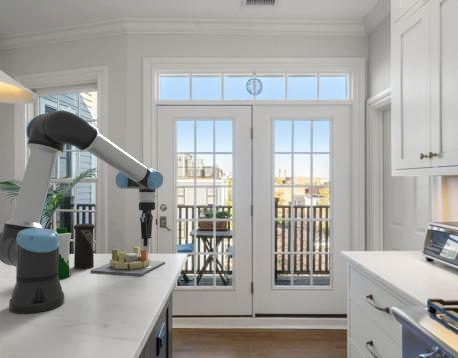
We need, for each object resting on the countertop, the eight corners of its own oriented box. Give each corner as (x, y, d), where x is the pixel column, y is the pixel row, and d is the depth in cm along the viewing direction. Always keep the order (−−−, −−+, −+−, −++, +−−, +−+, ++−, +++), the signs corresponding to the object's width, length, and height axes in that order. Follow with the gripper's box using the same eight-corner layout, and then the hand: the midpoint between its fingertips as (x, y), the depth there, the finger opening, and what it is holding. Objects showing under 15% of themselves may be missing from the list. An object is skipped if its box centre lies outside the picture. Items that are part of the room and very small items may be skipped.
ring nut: (103, 268, 153) (103, 252, 153) (121, 260, 169) (122, 246, 169) (138, 270, 150) (139, 254, 150) (154, 261, 166) (154, 247, 166)
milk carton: (73, 276, 144) (73, 228, 144) (53, 282, 136) (53, 230, 136) (59, 274, 148) (59, 226, 148) (38, 279, 140) (39, 229, 140)
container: (89, 269, 156) (90, 224, 156) (69, 269, 156) (70, 224, 156) (97, 265, 165) (97, 222, 165) (78, 265, 165) (78, 222, 165)
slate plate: (141, 276, 145) (141, 261, 145) (90, 272, 150) (90, 258, 151) (165, 263, 168) (165, 251, 168) (120, 260, 174) (120, 248, 174)
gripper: (151, 202, 155) (150, 255, 155) (158, 201, 168) (157, 250, 168) (134, 202, 156) (133, 255, 155) (143, 201, 169) (142, 250, 168)
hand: (146, 252), depth 161 cm, fingers closed
